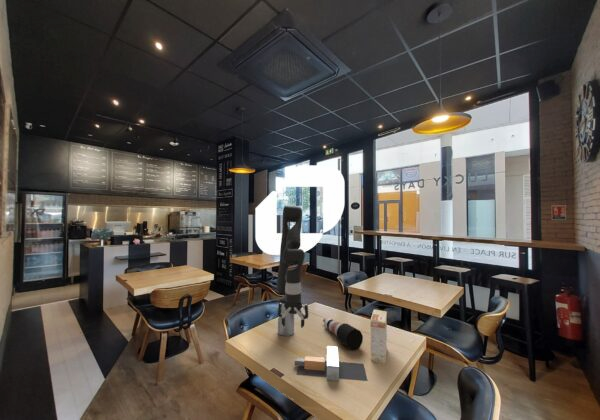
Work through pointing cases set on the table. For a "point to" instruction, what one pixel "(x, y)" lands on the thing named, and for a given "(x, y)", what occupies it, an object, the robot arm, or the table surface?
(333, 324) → the black white tapered bottle
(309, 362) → the plug
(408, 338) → the table surface
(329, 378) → the housing
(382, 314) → the coffeecake box
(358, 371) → the mat
